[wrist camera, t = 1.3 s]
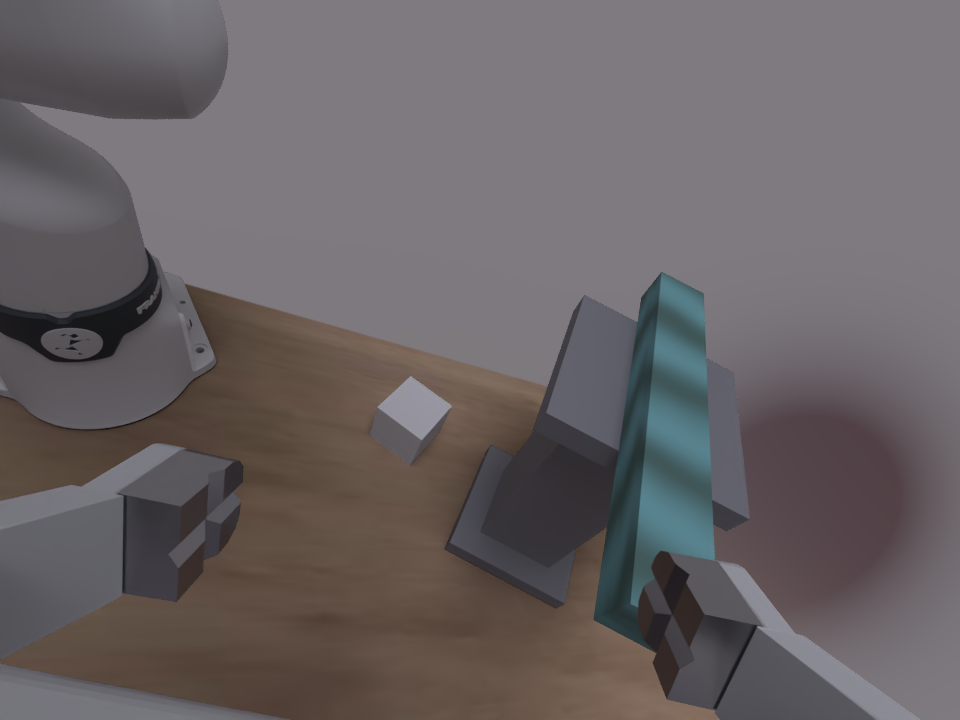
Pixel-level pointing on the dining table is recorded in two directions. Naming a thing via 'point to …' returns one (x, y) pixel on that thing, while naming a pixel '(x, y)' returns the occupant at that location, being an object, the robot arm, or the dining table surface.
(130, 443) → the dining table surface
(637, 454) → the teal block
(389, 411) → the grey cube piece
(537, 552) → the pedestal
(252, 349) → the dining table surface
